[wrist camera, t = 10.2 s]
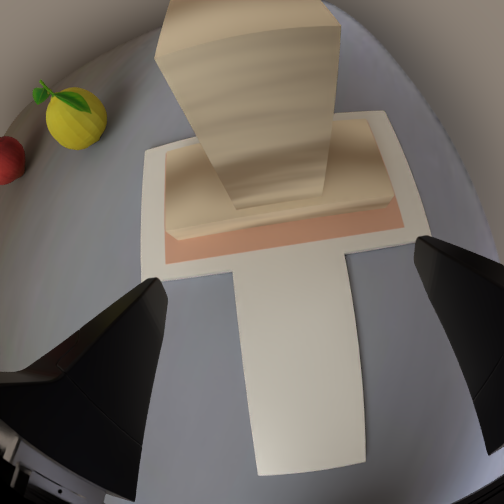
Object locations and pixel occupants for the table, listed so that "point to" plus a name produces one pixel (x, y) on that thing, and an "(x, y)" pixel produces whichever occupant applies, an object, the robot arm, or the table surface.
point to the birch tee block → (261, 118)
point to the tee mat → (293, 307)
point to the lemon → (73, 116)
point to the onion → (11, 160)
